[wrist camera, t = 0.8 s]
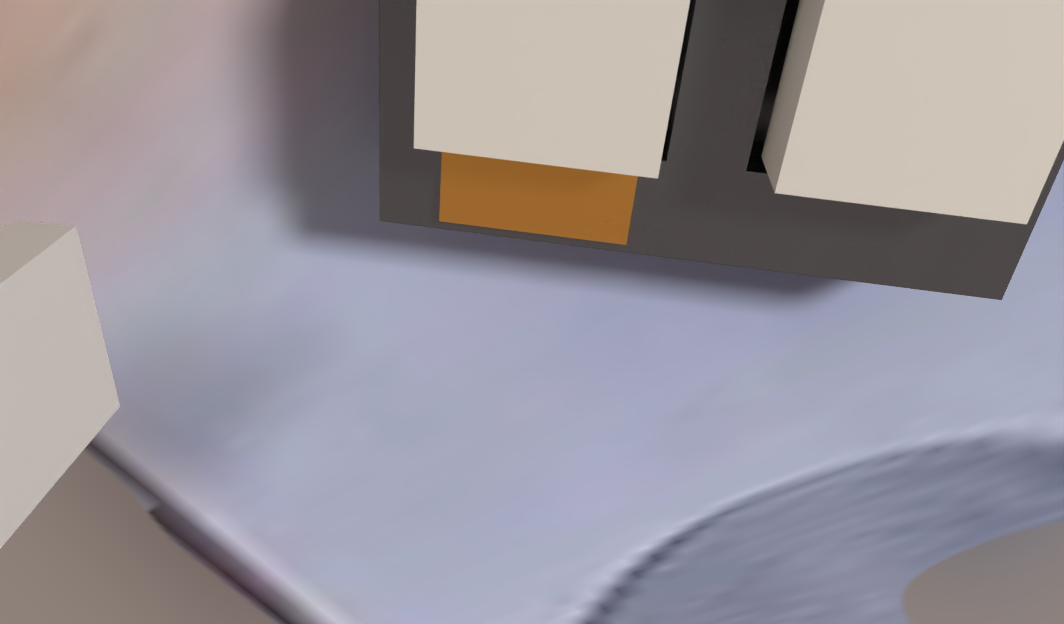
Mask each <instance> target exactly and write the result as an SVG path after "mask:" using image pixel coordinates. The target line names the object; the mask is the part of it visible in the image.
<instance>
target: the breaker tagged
mask: <svg viewBox="0 0 1064 624" xmlns="http://www.w3.org/2000/svg"><path fill="white" fill-rule="evenodd" d="M689 4H690V0H417V6H416V56H415V106H414V148H415V149H423V150H431V151H439V152H447V153H455V154H463V155H471V156H479V157H488V158H496V159H504V160H512V161H520V162H528V163H536V164H544V165H552V166H560V167H568V168H576V169H584V170H592V171H600V172H608V173H616V174H625V175H633V176H641V177H649V178H657V179H658V175H659V170H660V164H661V159H662V153H663V148H664V142H665V137H666V131H667V126H668V120H669V115H670V109H671V104H672V98H673V93H674V87H675V82H676V76H677V71H678V65H679V60H680V54H681V49H682V43H683V37H684V32H685V26H686V21H687V15H688V10H689Z"/></svg>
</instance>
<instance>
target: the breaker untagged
mask: <svg viewBox="0 0 1064 624" xmlns="http://www.w3.org/2000/svg"><path fill="white" fill-rule="evenodd" d="M1063 141H1064V0H800V1H799V5H798V9H797V13H796V17H795V21H794V25H793V29H792V33H791V37H790V41H789V45H788V49H787V54H786V58H785V62H784V66H783V70H782V74H781V78H780V82H779V86H778V90H777V94H776V98H775V102H774V106H773V111H772V115H771V119H770V123H769V127H768V131H767V135H766V139H765V143H764V147H763V151H762V155H761V158H762V160H763V163H764V166H765V168H766V171H767V174H768V176H769V179H770V182H771V185H772V187H773V190H774V193H778V194H786V195H794V196H802V197H810V198H818V199H826V200H834V201H842V202H850V203H858V204H866V205H874V206H882V207H891V208H899V209H907V210H915V211H923V212H931V213H939V214H947V215H955V216H963V217H971V218H979V219H987V220H995V221H1003V222H1011V223H1019V224H1027V223H1028V221H1029V218H1030V216H1031V214H1032V212H1033V209H1034V207H1035V205H1036V202H1037V200H1038V198H1039V196H1040V193H1041V191H1042V189H1043V186H1044V184H1045V182H1046V180H1047V177H1048V175H1049V173H1050V170H1051V168H1052V166H1053V164H1054V161H1055V159H1056V157H1057V154H1058V152H1059V150H1060V148H1061V145H1062V143H1063Z"/></svg>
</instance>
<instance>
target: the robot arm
mask: <svg viewBox="0 0 1064 624" xmlns="http://www.w3.org/2000/svg"><path fill="white" fill-rule="evenodd" d="M119 407H120V404H119V400H118V396H117V392H116V387H115V383H114V379H113V375H112V371H111V367H110V363H109V359H108V355H107V351H106V347H105V343H104V338H103V334H102V330H101V326H100V322H99V318H98V314H97V310H96V306H95V302H94V298H93V294H92V289H91V285H90V281H89V277H88V273H87V269H86V265H85V261H84V257H83V253H82V249H81V245H80V240H79V236H78V232H77V228H76V226H72V225H63V224H53V223H43V222H33V221H23V220H14V221H12V222H11V223H10V224H8V225H7V226H5V227H4V228H2V229H1V230H0V549H1V547H2V546H3V545H4V544H5V543H6V541H7V540H8V539H9V538H10V537H11V535H12V534H13V533H14V532H15V531H16V530H17V528H18V527H19V526H20V525H21V524H22V522H23V521H24V520H25V519H26V517H27V516H28V515H29V514H30V513H31V512H32V511H33V509H34V508H35V507H36V506H37V504H38V503H39V502H40V501H41V500H42V499H43V497H44V496H45V495H46V494H47V493H48V491H49V490H50V489H51V488H52V487H53V485H54V484H55V483H56V482H57V481H58V480H59V478H60V477H61V476H62V475H63V474H64V472H65V471H66V470H67V469H68V468H69V467H70V465H71V464H72V463H73V462H74V460H75V459H76V458H77V457H78V456H79V454H80V453H81V452H82V451H83V450H84V449H85V448H86V446H87V445H88V444H89V443H90V442H91V440H92V439H93V438H94V437H95V436H96V434H97V433H98V432H99V431H100V430H101V429H102V427H103V426H104V425H105V424H106V423H107V421H108V420H109V419H110V418H111V417H112V415H113V414H114V413H115V412H116V411H117V409H118V408H119Z"/></svg>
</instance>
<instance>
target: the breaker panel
mask: <svg viewBox="0 0 1064 624" xmlns="http://www.w3.org/2000/svg"><path fill="white" fill-rule="evenodd" d="M799 1H800V0H690V4H689V10H688V15H687V21H686V26H685V32H684V37H683V43H682V49H681V54H680V60H679V65H678V71H677V76H676V82H675V87H674V93H673V98H672V104H671V109H670V115H669V120H668V126H667V131H666V137H665V142H664V148H663V153H662V159H661V164H660V170H659V175H658V179H657V178H649V177H641V176H633V175H625V174H616V173H608V172H600V171H592V170H584V169H576V168H568V167H560V166H552V165H544V164H536V163H528V162H520V161H512V160H504V159H496V158H488V157H479V156H471V155H463V154H455V153H447V152H439V151H431V150H423V149H415V148H414V106H415V56H416V6H417V0H379V47H380V221H386V222H394V223H402V224H409V225H417V226H425V227H433V228H441V229H449V230H457V231H464V232H472V233H480V234H488V235H496V236H504V237H511V238H519V239H527V240H535V241H543V242H551V243H558V244H566V245H574V246H582V247H590V248H598V249H606V250H613V251H621V252H629V253H637V254H645V255H653V256H660V257H668V258H676V259H684V260H692V261H700V262H708V263H715V264H723V265H731V266H739V267H747V268H755V269H762V270H770V271H778V272H786V273H794V274H802V275H810V276H817V277H825V278H833V279H841V280H849V281H857V282H864V283H872V284H880V285H888V286H896V287H904V288H911V289H919V290H927V291H935V292H943V293H951V294H959V295H966V296H974V297H982V298H990V299H998V300H1002V298H1003V296H1004V293H1005V291H1006V289H1007V287H1008V284H1009V282H1010V280H1011V278H1012V275H1013V273H1014V271H1015V269H1016V266H1017V264H1018V262H1019V259H1020V257H1021V255H1022V253H1023V250H1024V248H1025V246H1026V244H1027V241H1028V239H1029V237H1030V235H1031V232H1032V230H1033V228H1034V226H1035V223H1036V221H1037V219H1038V217H1039V214H1040V212H1041V210H1042V208H1043V205H1044V203H1045V201H1046V199H1047V196H1048V194H1049V192H1050V190H1051V187H1052V185H1053V183H1054V181H1055V178H1056V176H1057V174H1058V171H1059V169H1060V167H1061V165H1062V162H1063V160H1064V141H1063V143H1062V145H1061V148H1060V150H1059V152H1058V154H1057V157H1056V159H1055V161H1054V164H1053V166H1052V168H1051V170H1050V173H1049V175H1048V177H1047V180H1046V182H1045V184H1044V186H1043V189H1042V191H1041V193H1040V196H1039V198H1038V200H1037V202H1036V205H1035V207H1034V209H1033V212H1032V214H1031V216H1030V218H1029V221H1028V223H1027V224H1019V223H1011V222H1003V221H995V220H987V219H979V218H971V217H963V216H955V215H947V214H939V213H931V212H923V211H915V210H907V209H899V208H891V207H882V206H874V205H866V204H858V203H850V202H842V201H834V200H826V199H818V198H810V197H802V196H794V195H786V194H778V193H774V190H773V187H772V185H771V182H770V179H769V176H768V174H767V171H766V168H765V166H764V163H763V160H762V158H761V155H762V151H763V147H764V143H765V139H766V135H767V131H768V127H769V123H770V119H771V115H772V111H773V106H774V102H775V98H776V94H777V90H778V86H779V82H780V78H781V74H782V70H783V66H784V62H785V58H786V54H787V49H788V45H789V41H790V37H791V33H792V29H793V25H794V21H795V17H796V13H797V9H798V5H799Z"/></svg>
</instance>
